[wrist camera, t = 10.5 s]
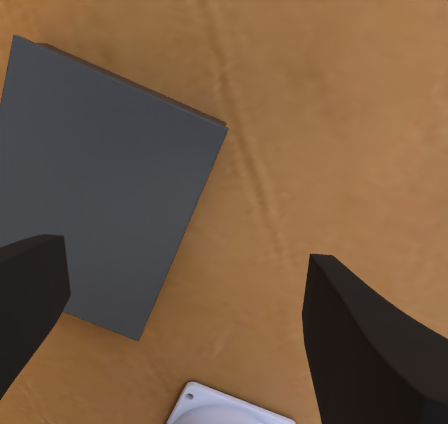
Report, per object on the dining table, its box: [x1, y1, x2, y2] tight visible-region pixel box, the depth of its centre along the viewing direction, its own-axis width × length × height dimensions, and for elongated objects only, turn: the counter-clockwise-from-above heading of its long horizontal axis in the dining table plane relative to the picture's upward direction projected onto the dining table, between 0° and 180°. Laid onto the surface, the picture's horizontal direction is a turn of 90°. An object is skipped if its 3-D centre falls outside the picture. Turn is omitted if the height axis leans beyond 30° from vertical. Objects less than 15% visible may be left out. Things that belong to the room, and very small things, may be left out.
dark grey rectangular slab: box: [0, 35, 228, 341], centre depth 21 cm, size 13×10×2 cm
